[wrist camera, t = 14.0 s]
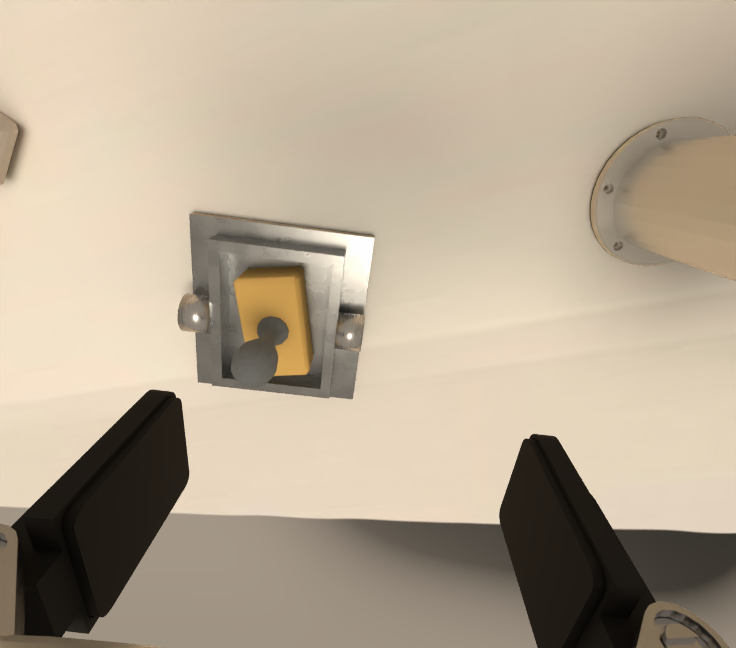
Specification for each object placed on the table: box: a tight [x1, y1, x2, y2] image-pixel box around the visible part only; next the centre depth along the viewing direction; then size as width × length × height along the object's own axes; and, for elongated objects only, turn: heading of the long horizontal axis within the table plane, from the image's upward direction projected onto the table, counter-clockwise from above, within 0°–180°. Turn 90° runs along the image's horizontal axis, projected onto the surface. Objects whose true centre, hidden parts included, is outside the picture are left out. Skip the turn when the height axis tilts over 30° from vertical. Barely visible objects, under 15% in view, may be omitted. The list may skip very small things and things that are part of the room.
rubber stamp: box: [231, 266, 313, 388], centre depth 34 cm, size 10×6×12 cm, turn 3°
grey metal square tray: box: [178, 212, 374, 399], centre depth 38 cm, size 17×18×5 cm
